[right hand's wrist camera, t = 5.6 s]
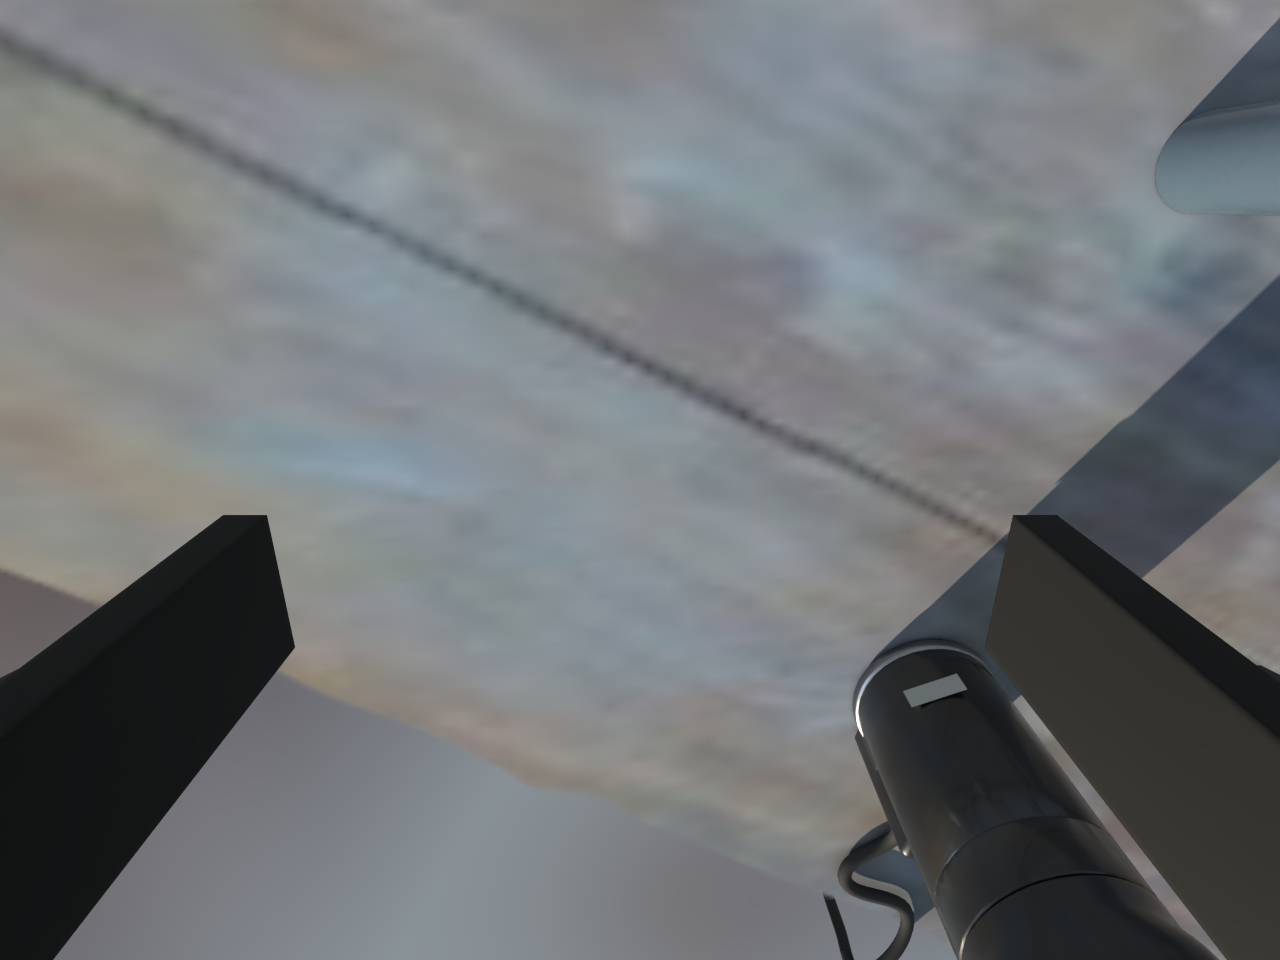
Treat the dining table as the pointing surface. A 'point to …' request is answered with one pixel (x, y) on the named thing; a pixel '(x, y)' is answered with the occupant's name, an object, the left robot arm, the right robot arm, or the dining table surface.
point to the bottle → (1224, 162)
